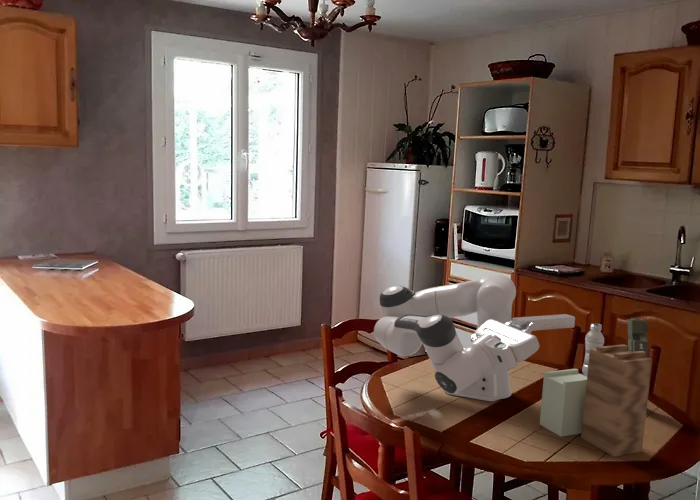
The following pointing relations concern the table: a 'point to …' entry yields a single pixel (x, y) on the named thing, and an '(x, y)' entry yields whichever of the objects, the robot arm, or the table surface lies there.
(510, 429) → the table surface
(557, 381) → the shelf block
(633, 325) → the mechanical leg
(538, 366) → the table surface
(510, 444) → the table surface
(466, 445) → the table surface
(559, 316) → the link bar
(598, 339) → the plastic bottle
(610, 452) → the wood grain block
